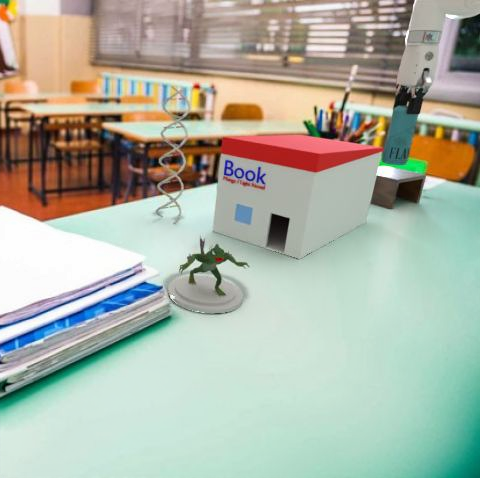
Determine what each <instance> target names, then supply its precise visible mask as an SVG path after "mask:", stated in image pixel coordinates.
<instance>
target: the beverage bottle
mask: <svg viewBox="0 0 480 478" xmlns="http://www.w3.org/2000/svg"><path fill="white" fill-rule="evenodd" d="M410 98H412V92H409V93H402V94H401V98H400V101H408V102H407V103H409V99H410ZM407 108H408V105H407V106H397V107H396V108H394V109H393V108H392V113H391V119H390V121H389V127H388V131H387V135H386V140H385V143H384V147H383V148H384V150H383V152H382V155H381V163H382V164H387V165H390V166H391V165H393V166H406V164H407V163H408V162H409V158H410V154H411V153H410V152H411V149H412V145H413V142H414V141H413V139H414V137H415V133H416V129H417V123H418V118H419V115H416V114H407V113H406V112H407Z"/></svg>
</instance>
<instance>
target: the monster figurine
mask: <svg viewBox="0 0 480 478" xmlns="http://www.w3.org/2000/svg"><path fill="white" fill-rule="evenodd" d="M205 244H206V237H204V238H202V237H201V235H199V248H200V253H192V254H190V253H188V254H189V255H188V256H186V259H187V261H186V262H185V263H183V264H180V265H179V269H178V272H179V273H180V274H181V275H182V274H183V272H184V271H186V270H187V269H188V268H189V267H190V266H191V265H192V264H193V263H194V262H195V261H197V262H199V263H201V264H200V265H199V266H198V267H194V268H193V269H191V270H190V272H189V275H184V276H180V277H178V278H176V279H174V280H171V282H170V283H169V285H168V289H167V294H168V293H169V294H170V295H173V296H175V299H173V300H174V301H175V302H176V303H177V304H178V305H180V306H182V307H184V308H186V309H190V310H193V311H199V312H204V313H224V314H226V313H225V312H228V313H231V312H230V311H232V310H234V311H236V310H237V309H236V308H238V307H239V306H240V307H241V305H242V304H241V303H243V299H244V297H243V296H244V295H243V292H242V291H241V289H240V288H239V287H238V286H237V285H235V284H234V283H232V282H230V281H228V280H225V279H222V275H221V272H220V270H219V268H218V267H217V266H219V265H221V264H222V263H225V262H227V261H229V262H231V263H232V264H234V265H235V266H237V267H239V268H240V267H242V268H244V269H247V268H246V267H245V266H247V267H248V268H250V265H249V264H248V262H247V261H246V262H245V261H237V260H236V259H235V257H234V256H233V254H232V253H230V251H228V252H227V251H225V250H224V249H223V248H222V247H220V245H219V243H214V246H213V244H212V246H211V245H209V246H210V248H208V249H209V251H207V252H206V253H205V250H204V249H205ZM207 272H211V274H212V275H213V276H209V275H201V274H200V275H199V274H198V273H207ZM178 305H177V306H178ZM180 306H179V307H180ZM182 307H181V308H182ZM240 307H239V308H240ZM184 308H183V309H184ZM239 308H238V309H239ZM186 309H185V310H186ZM235 309H236V310H235ZM193 311H192V312H193ZM232 312H233V311H232Z"/></svg>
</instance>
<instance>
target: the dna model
mask: <svg viewBox="0 0 480 478" xmlns="http://www.w3.org/2000/svg"><path fill="white" fill-rule="evenodd" d="M171 89H172V90H173V91H175V93H173V94H171V95H170V96H168V97H166V99H165V100H163V102H162V110H163V111H164V112H165V114H166V115H168V116H169V117H170V118H172V119H173V120H174V121H173V122H172V123H170V124H168V125H166V126H163V129H162V130H161V131H160V136H161V138H162V140H163V141H164V142H165V143H167V144H168V145H169V146H171V147H172V148H173V149H171V150H169V151H168V152H165V153H164V154H162V155H161V156H160V157H159V158H158V164H159V165H160V166H161V167H163V168H164V169H165V170H166V171H167V172H169V173H170V174H171V176H168V177H166V178H165V179H163V180H161V181H160V182H159V183H158V184H157V185H156V188H157V189H158V191H159V192H161V194H163V195H164V196H166V197H167V198H169V201H168V202H166V203H165V204H163V205H161V206H159V207H157V208H156V209H155V214H156V215H157V216H159V217H161V218H164V216H163V215H162V214H161V213H160V212H159V211H160V210H163V209H164V210H165V209H169V208H176V207H177V209H178V212H179V213H178V216H177V218H176V219H175V221H174V222H173V223H172V225H173V224H175V225H177V223H179V221H180V220H181V217H182V207H181V205H180V204H179V203H178V201H177V200H178V199H179V198H180V197H181V196H182V195H183V192H184V189H185V188H184V187H185V186H184V183H183V181H182V179H181V178H180V176H178V175H179V174H180V173H181V172H183V170H184V169H185V167H186V164H187V159H186V157H185V155H184V154H185V152H183V151H181V149H180V148H181V147H182V146H184V144H186V142H187V140H188V137H189V133H188V129H187V127H186V126H185V125H184V123H182V122H181V121H182V120H183V119H185V117H187V116H188V114H189V113H190V111H191V109H192V108H191V102H190V101H189V99H188V96H186V95H185V94H184V93H182V92H183V91H185V88H184V87H183V88H181V89H178V88H176V87H175V86H174V85H172V86H171ZM178 95H180V96H181V97H179V98H175V97H176V96H178ZM176 100H179V101H181V100H182V101H183V100H184V101H185V102H186V106H187V109H186V111H185V112H184V113H183V115H180V116H179V115H175V114H173V113H171V112H170V111H169V110H167V108H166V104H167V103H168V102H169V101H176ZM177 124H179V125H177ZM174 125H175V126H174ZM179 128H182V129H183V130H184V131H183V132H184V134H185V136H184V139H183V140H182V141H181V142H180V144H178V143H177V144H176V143H174V142H172V141H170V140H169V139H167V138H166V137H165V134H164V133H165V132H166V131H167V130H169V129H179ZM176 151H177V153H176ZM172 153H174V154H172ZM173 156H181V158H182V161H183V162H182V166H180V168H179V169H178V171H175V170H174V169H171V168H169V167H168V166H167V165H165V164H164V163H163V162H162V161H163V159H164V158H167V157H173ZM173 178H175V179H173ZM172 179H173V180H172ZM171 182H179V184H180V191H179V193H178V194H177V195H176V196H175V197H173V196H171V195H170V194H169V193H167V192H166V191H164V190H163V189H162V188H161V186H162V185H164V184H168V183H171ZM173 203H174V204H175V205H171V204H173Z"/></svg>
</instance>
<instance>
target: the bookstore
mask: <svg viewBox="0 0 480 478" xmlns="http://www.w3.org/2000/svg"><path fill="white" fill-rule="evenodd" d="M221 139H222V140H221V148H220V161H219V171H218V179H217V188H216V196H215V204H214V214H213V222H212V232H214V233H218V234H220V235H224V236H227V237H228V238H229V237H230V238H232V239H236V240H238V241H241V242H245V243H248V244H251V245H254V246H256V247H260V248H263V249H266V250H268V251H272V252H275V251H276V252H275V253H278V252H279V254H281V253H282V254H281V255H284V254H286V255H285V256H287V255H289V256H288V257H290V256H293V257H295V258H294V259H296V258H298V259H297V260H299V259H300V258H301V259H303V258H305V257H307V256H308V255H307V254H309V253H310V254H312V253H314V252H316V251H318V250H319V249H321V248H323V247H324V245H325V246H326V245H328V244H330V243H332V242H334V241H336V240H337V239H339V238H341V237H343V236H344V235H346V234H348V233H350V232H351V230H352V231H353V230H355V229H358V228H359V227H361V226H363V225H364V224H366V223H367V219H368V216H369V215H368V214H369V211H370V207H371V203H370V202H371V198H372V194H373V189H374V185H375V181H376V177H377V172H378V168H379V167H380V163H381V160H382V155H383V151H384V148H385V147H384V146H376V145H369V144H363V143H355V142H351V141H343V140H335V139H330V138H324V137H317V136H311V135H304V134H273V135H271V134H270V135H269V134H268V135H240V136H238V135H235V136H222V138H221ZM360 225H361V226H360ZM358 226H359V227H358ZM342 235H343V236H342ZM340 236H341V237H340ZM338 237H339V238H338ZM333 240H334V241H333ZM331 241H332V242H331ZM329 242H330V243H329ZM322 246H323V247H322ZM320 247H321V248H320ZM317 249H318V250H317ZM315 250H316V251H315ZM313 251H314V252H313ZM311 252H312V253H311ZM310 254H309V255H310ZM306 255H307V256H306ZM304 256H305V257H304ZM293 257H292V258H293ZM302 257H303V258H302ZM301 259H300V260H301Z"/></svg>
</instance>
